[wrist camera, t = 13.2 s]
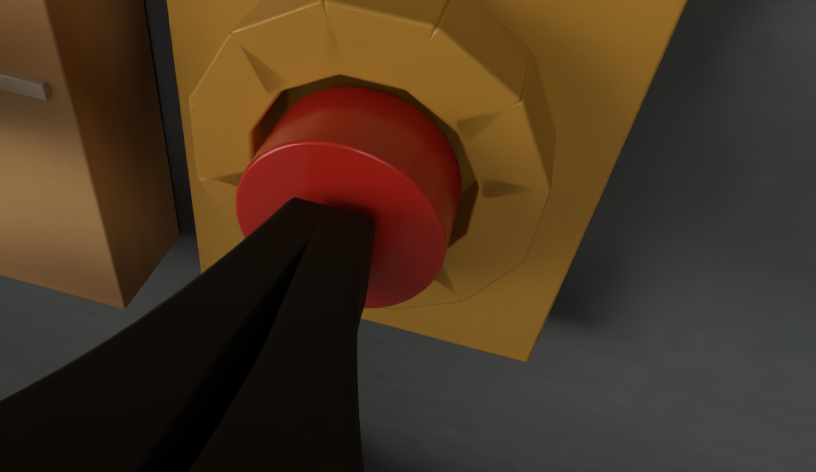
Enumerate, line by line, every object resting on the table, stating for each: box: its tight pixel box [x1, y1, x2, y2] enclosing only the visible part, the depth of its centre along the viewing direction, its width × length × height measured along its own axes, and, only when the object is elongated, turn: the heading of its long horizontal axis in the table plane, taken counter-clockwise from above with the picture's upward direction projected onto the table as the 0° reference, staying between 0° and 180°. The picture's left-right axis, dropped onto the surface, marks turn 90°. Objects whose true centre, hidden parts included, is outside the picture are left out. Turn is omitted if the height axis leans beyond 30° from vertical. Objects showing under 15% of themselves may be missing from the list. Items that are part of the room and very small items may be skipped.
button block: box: [166, 0, 688, 362], centre depth 13 cm, size 12×9×4 cm
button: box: [236, 86, 462, 308], centre depth 11 cm, size 4×4×2 cm
